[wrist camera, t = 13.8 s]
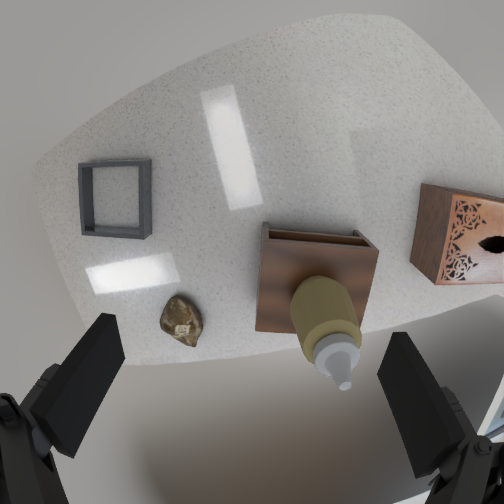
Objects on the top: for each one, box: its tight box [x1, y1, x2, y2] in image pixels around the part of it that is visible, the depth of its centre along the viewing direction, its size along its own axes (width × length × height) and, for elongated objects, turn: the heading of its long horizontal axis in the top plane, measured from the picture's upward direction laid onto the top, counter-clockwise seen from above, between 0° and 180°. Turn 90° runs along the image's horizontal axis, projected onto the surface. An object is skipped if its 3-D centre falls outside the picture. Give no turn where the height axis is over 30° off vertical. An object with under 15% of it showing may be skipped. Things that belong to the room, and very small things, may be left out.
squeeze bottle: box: [290, 275, 362, 390], centre depth 32 cm, size 8×8×18 cm
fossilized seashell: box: [160, 296, 203, 347], centre depth 52 cm, size 8×7×10 cm
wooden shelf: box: [255, 222, 379, 334], centre depth 45 cm, size 14×16×10 cm
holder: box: [78, 160, 152, 240], centre depth 45 cm, size 13×13×4 cm
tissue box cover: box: [410, 183, 504, 285], centre depth 41 cm, size 26×14×10 cm, turn 89°
